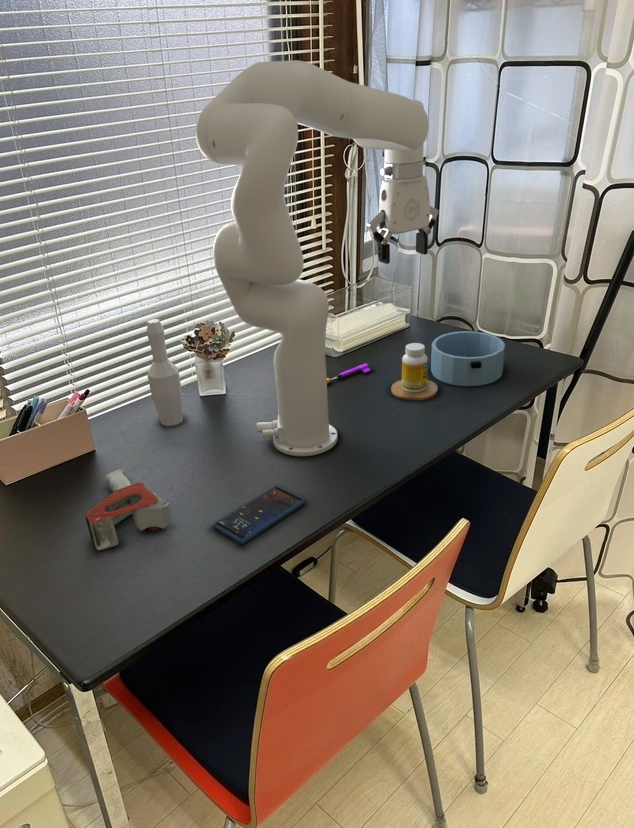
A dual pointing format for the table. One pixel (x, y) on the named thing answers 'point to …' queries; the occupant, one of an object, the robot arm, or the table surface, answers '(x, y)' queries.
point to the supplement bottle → (414, 368)
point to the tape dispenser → (125, 510)
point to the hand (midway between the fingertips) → (403, 257)
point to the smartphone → (259, 514)
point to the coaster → (414, 396)
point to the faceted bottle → (164, 378)
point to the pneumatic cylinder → (353, 371)
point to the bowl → (467, 358)
